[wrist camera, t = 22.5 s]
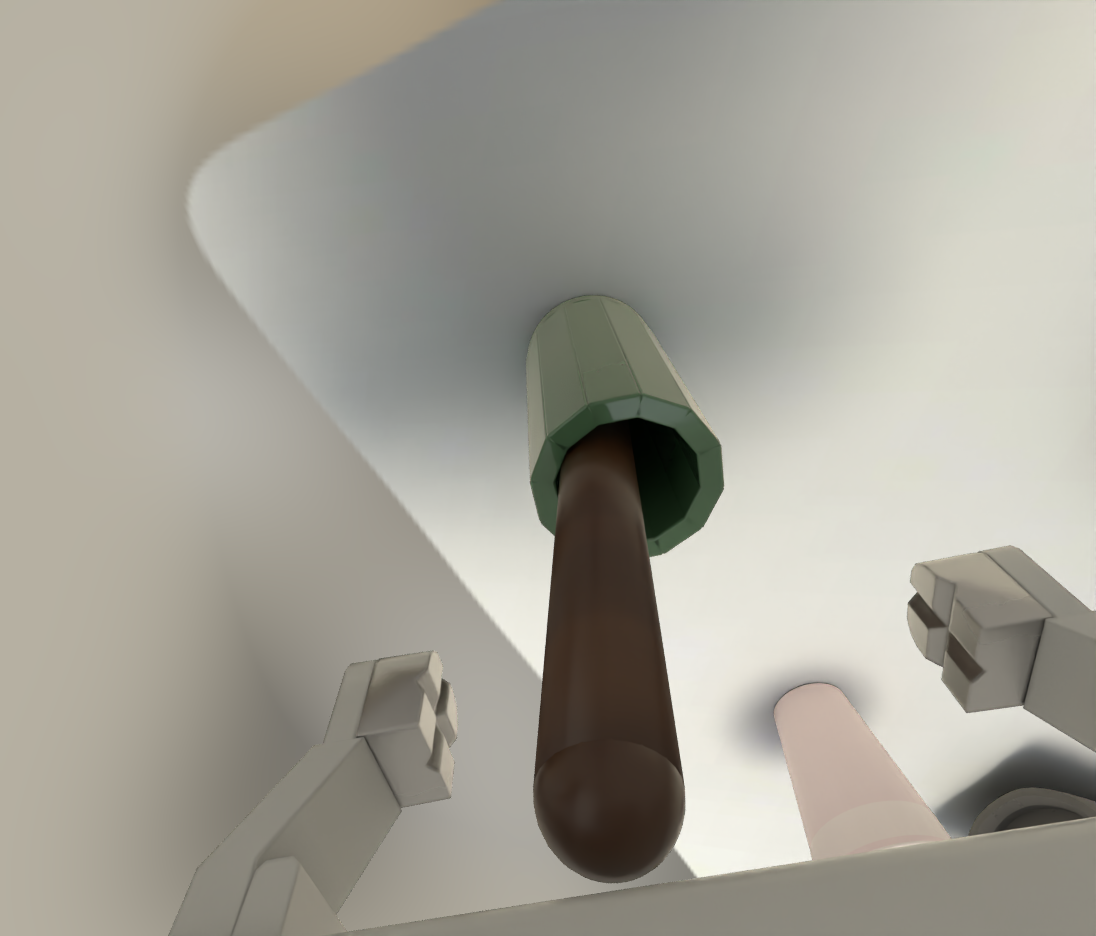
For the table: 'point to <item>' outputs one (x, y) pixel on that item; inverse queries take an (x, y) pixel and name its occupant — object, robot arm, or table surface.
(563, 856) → the stick
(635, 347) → the holder
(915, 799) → the smoothie
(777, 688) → the table surface
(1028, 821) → the bluetooth speaker
